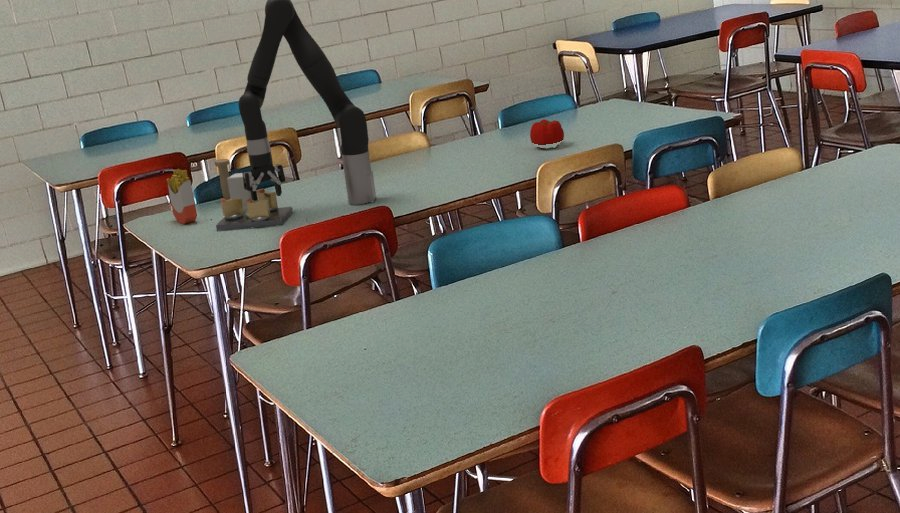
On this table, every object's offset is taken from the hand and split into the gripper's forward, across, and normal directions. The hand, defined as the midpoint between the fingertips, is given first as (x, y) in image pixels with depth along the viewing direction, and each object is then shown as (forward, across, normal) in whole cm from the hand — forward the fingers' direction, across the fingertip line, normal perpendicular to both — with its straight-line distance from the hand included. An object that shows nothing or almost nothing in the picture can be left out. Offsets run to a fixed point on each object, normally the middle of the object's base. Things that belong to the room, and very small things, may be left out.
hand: (267, 198), depth 353 cm
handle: (+6, +1, +37) cm, 37 cm away
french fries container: (+6, -22, +22) cm, 31 cm away
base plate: (+6, -7, -2) cm, 9 cm away
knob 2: (+4, 0, 0) cm, 4 cm away
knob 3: (+4, -8, -9) cm, 13 cm away
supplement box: (+6, -1, +16) cm, 18 cm away
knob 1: (+4, -12, +2) cm, 13 cm away
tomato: (+7, +117, -8) cm, 118 cm away
